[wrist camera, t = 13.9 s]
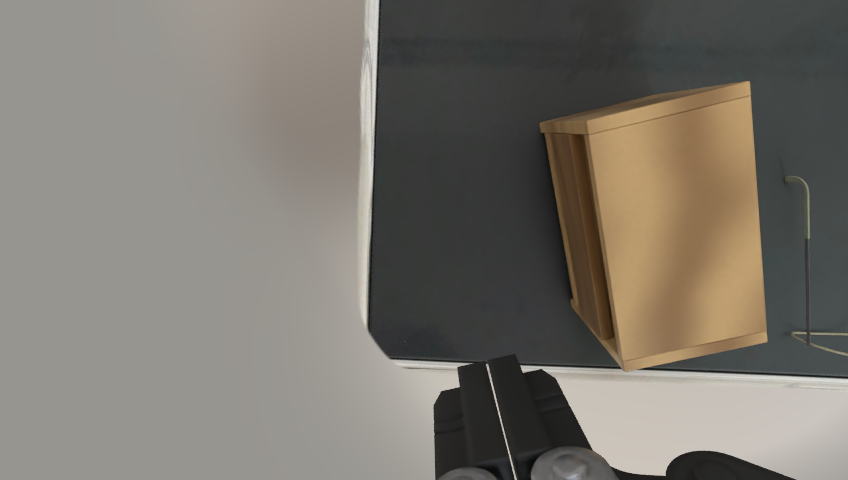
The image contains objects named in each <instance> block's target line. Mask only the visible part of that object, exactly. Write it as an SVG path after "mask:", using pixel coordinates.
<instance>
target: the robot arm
mask: <svg viewBox="0 0 848 480" xmlns="http://www.w3.org/2000/svg"><path fill="white" fill-rule="evenodd" d="M487 361H488V365H489V369H490V373H491V378H492V382H493V386H494V390H495V394H496V398H497V403H498V407H499V411H500V415H501V419H502V423H503V427H504V431H505V435H506V439H507V443H508V447H509V451H510V455H511V459H512V462H513V466H514V470H515V474H516V478H517V480H795V479H793V478H790V477H787V476H784V475H782V474H779V473H776V472H774V471H771V470H768V469H766V468H763V467H760V466H758V465H755V464H752V463H749V462H747V461H744V460H741V459H739V458H736V457H733V456H730V455H727V454H724V453H719V452H714V451H693V452H689V453H685V454H682V455H680V456H678V457H676V458H675V459H674V460H673V461H672V462H671V463H670V464H669V466H668V467H667V470H666V476H654V475H639V474H632V473H627V472H623V471H620V470H617V469H615V468H613V467H611V466H610V465H609V464H608V463H607V461H606V460H605V459H604V458H603V457H602V456H601V455H599V454H597V453H596V452H594V451H593V450H592V448H591V446H590V444H589V442H588V441H587V438H586V436H585V435H584V433H583V431H582V429H581V427H580V425H579V423H578V421H577V419H576V417H575V415H574V413H573V411H572V409H571V407H570V406H569V404H568V402H567V400H566V398H565V396H564V395H563V392H562V390H561V388H560V386H559V384H558V382H557V380H556V379H555V378H554V377H552V376H551V375H549V374H548V373H546V372H545V371H543V370H542V369H540V370H535V371H531V372H526V373H523V372H522V370H521V367H520V365H519V362H518V360H517V357H516V355H515V354H513V355H509V356H504V357H500V358H495V359H491V360H487ZM458 375H459V382H460V387H459V388H454V389H450V390H445V391H441V393H440V395H439V397H438V399H437V400H436V402H435V404H434V422H435V423H434V433H435V435H434V438H435V477H436V480H515V479H514V475H513V471H512V467H511V462H510V459H509V454H508V450H507V446H506V443H505V439H504V435H503V431H502V427H501V423H500V419H499V415H498V411H497V407H496V403H495V399H494V395H493V391H492V387H491V383H490V379H489V375H488V371H487V367H486V363H485V361H483V362H478V363H474V364H469V365H465V366H460V367H458Z"/></svg>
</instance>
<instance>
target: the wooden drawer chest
mask: <svg viewBox="0 0 848 480" xmlns="http://www.w3.org/2000/svg"><path fill="white" fill-rule="evenodd" d="M750 95H751V93H750V81H745V82H738V83H731V84H725V85H718V86H711V87H704V88H697V89H690V90H684V91H677V92H670V93H663V94H656V95H651V96H647V97H643V98H638V99H634V100H630V101H626V102H622V103H618V104H614V105H610V106H606V107H602V108H598V109H594V110H590V111H585V112H581V113H577V114H573V115H569V116H565V117H561V118H557V119H553V120H549V121H545V122H541V123H539V125H540V130H541V133H545V139H546V145H547V151H548V156H549V162H550V168H551V174H552V179H553V185H554V191H555V197H556V202H557V208H558V214H559V220H560V225H561V231H562V237H563V243H564V248H565V254H566V260H567V266H568V271H569V277H570V283H571V289H572V294H573V298H572V299H570V301H571V306H572V308H573V309H574V310H575V311H576V313H577V314H578V315H579V316H580V318H581V319H582V320H583V321H584V322H585V324H586V325H587V326H588V327H589V329H590V330H591V331H592V332H593V334H594V335H595V336H596V337H597V338H598V340H599V341H600V342H601V343H602V345H603V346H604V347H605V348H606V350H607V351H608V352H609V353H610V354H611V356H612V357H613V358H614V359H615V361H616V362H617V363H618V364H619V366H620V367H621V368H622V369H623V370H624V372H627V371H632V370H636V369H641V368H646V367H651V366H656V365H660V364H665V363H670V362H675V361H679V360H684V359H689V358H694V357H699V356H703V355H708V354H713V353H718V352H722V351H727V350H732V349H737V348H742V347H746V346H751V345H756V344H761V343H765V342H767V332H766V330H767V327H766V312H765V298H764V283H763V269H762V254H761V239H760V225H759V210H758V195H757V181H756V166H755V151H754V137H753V122H752V108H751V96H750Z"/></svg>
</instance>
